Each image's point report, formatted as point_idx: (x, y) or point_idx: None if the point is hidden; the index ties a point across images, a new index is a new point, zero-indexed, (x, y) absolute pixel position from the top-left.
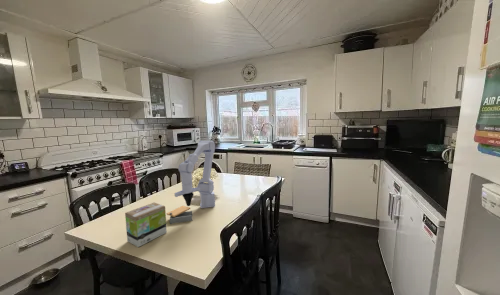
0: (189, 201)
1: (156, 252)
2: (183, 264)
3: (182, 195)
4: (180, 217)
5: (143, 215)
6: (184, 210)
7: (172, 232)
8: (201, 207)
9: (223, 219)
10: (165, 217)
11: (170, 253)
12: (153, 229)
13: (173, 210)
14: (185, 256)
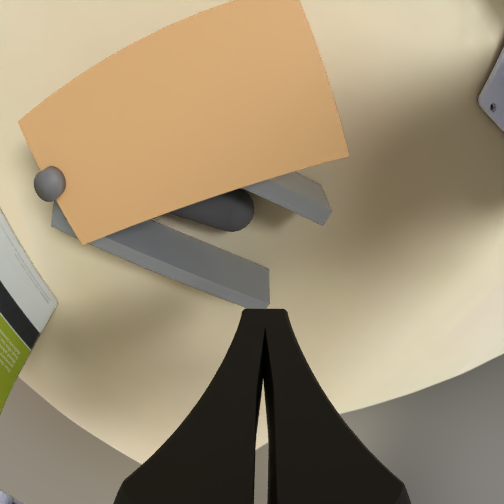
0: (267, 424)
1: (45, 383)
2: (127, 448)
3: (130, 490)
4: (149, 267)
5: None
6: (231, 188)
7: (90, 322)
8: (487, 107)
9: (413, 375)
10: (11, 388)
11: (91, 412)
12: None
13: (97, 78)
14: (135, 440)
